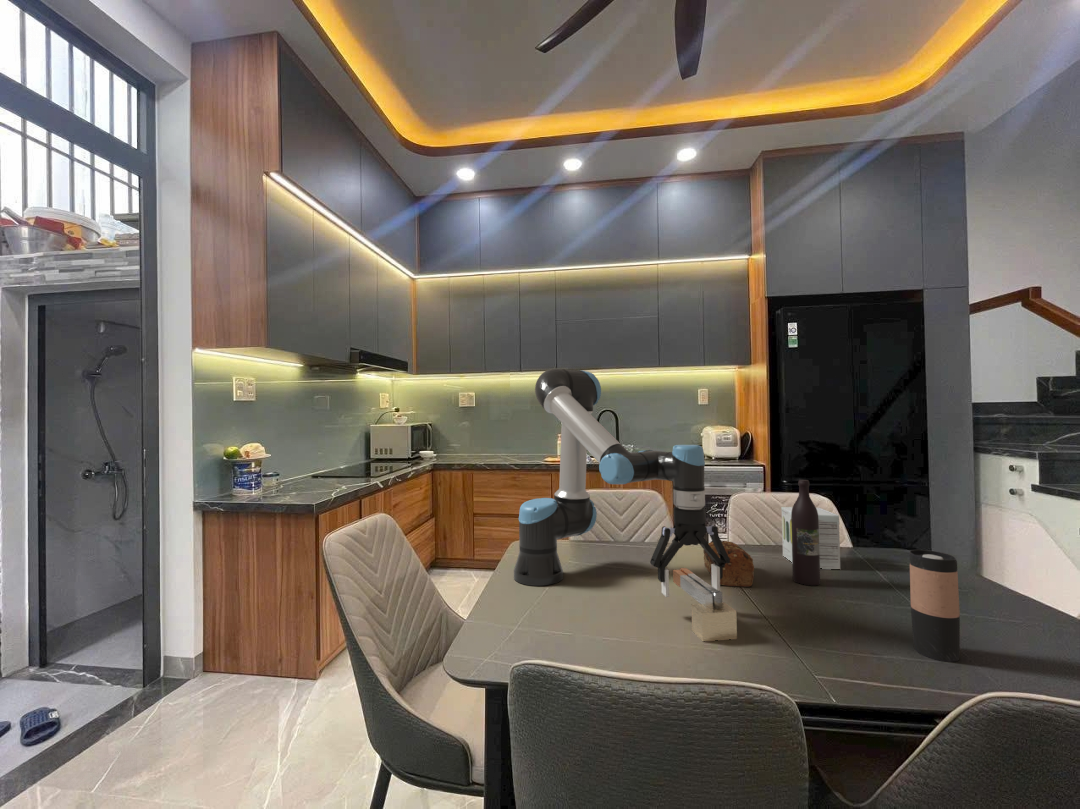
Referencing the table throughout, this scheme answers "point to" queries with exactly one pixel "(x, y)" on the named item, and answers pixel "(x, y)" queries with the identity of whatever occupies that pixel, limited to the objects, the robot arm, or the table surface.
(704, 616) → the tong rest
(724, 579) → the bread
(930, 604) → the travel mug
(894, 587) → the table surface
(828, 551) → the supplement box
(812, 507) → the wine bottle
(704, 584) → the tong arm
